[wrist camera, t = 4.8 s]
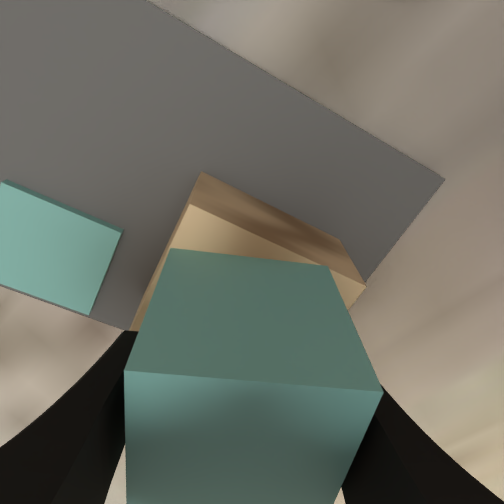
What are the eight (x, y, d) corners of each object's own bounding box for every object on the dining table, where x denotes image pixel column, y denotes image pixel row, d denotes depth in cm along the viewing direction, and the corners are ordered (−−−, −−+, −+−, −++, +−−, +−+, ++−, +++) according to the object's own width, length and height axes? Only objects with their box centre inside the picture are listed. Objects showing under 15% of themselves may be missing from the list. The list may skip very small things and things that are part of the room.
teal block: (327, 265, 13) (384, 391, 8) (295, 377, 15) (323, 526, 10) (170, 247, 12) (123, 370, 7) (164, 366, 15) (127, 517, 10)
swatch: (123, 229, 16) (121, 233, 16) (91, 310, 18) (88, 315, 18) (6, 179, 15) (1, 182, 14) (-14, 272, 17) (-20, 276, 16)
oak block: (339, 239, 17) (366, 286, 13) (266, 343, 19) (273, 405, 16) (201, 170, 15) (189, 203, 11) (143, 295, 18) (119, 353, 14)
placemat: (438, 175, 16) (445, 179, 15) (282, 378, 22) (283, 386, 21) (19, -75, 12) (8, -81, 11) (-42, 261, 17) (-51, 268, 17)
